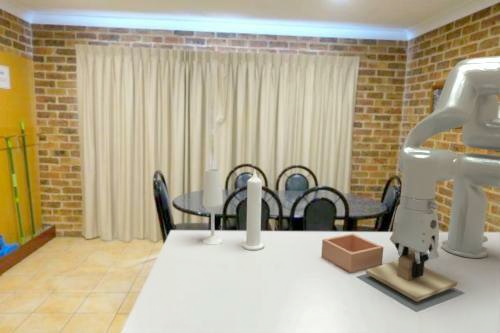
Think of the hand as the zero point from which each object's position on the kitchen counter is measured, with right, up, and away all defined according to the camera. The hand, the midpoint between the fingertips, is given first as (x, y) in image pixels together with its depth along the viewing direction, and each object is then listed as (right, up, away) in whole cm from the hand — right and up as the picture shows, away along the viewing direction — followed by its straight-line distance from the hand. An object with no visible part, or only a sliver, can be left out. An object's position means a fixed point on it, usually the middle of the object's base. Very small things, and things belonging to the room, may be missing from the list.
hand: (410, 272), depth 88 cm
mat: (0, -4, 0) cm, 4 cm away
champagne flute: (-53, +2, +28) cm, 60 cm away
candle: (-40, +1, +24) cm, 47 cm away
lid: (0, -2, 0) cm, 2 cm away
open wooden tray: (-11, -1, +14) cm, 18 cm away
